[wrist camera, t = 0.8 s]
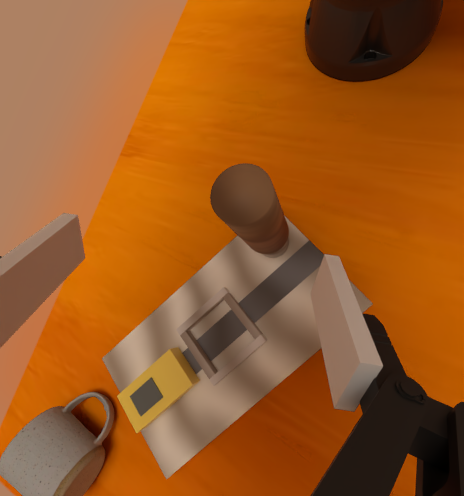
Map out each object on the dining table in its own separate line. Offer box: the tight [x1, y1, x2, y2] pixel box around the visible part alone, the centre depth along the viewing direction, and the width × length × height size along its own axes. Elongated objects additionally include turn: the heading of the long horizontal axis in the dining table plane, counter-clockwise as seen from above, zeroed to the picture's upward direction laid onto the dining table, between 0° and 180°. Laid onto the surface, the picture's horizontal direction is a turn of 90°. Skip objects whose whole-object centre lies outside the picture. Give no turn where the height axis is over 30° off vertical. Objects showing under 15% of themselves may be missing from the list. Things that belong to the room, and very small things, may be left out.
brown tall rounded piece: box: [210, 164, 289, 258], centre depth 26 cm, size 4×4×14 cm
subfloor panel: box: [102, 217, 373, 479], centre depth 32 cm, size 28×15×3 cm, turn 129°
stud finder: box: [117, 347, 200, 433], centre depth 32 cm, size 8×4×2 cm, turn 129°
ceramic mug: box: [0, 392, 114, 496], centre depth 32 cm, size 11×8×8 cm
